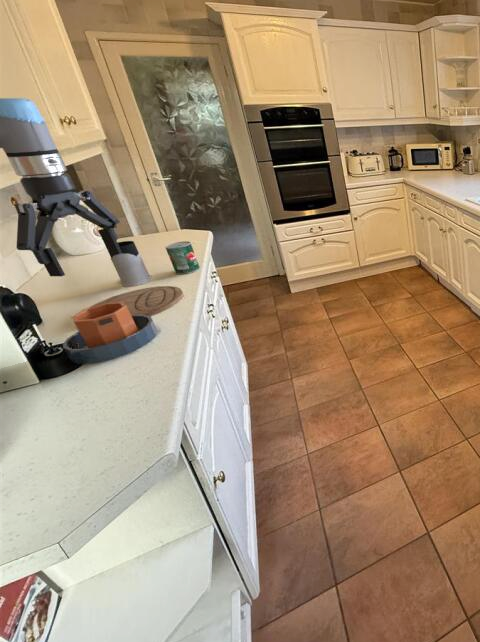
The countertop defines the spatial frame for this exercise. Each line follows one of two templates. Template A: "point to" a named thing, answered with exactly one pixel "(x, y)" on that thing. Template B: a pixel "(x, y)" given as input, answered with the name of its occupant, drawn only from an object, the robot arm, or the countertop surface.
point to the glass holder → (130, 265)
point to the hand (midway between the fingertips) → (88, 264)
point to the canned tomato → (182, 257)
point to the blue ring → (115, 347)
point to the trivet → (148, 300)
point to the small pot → (105, 324)
